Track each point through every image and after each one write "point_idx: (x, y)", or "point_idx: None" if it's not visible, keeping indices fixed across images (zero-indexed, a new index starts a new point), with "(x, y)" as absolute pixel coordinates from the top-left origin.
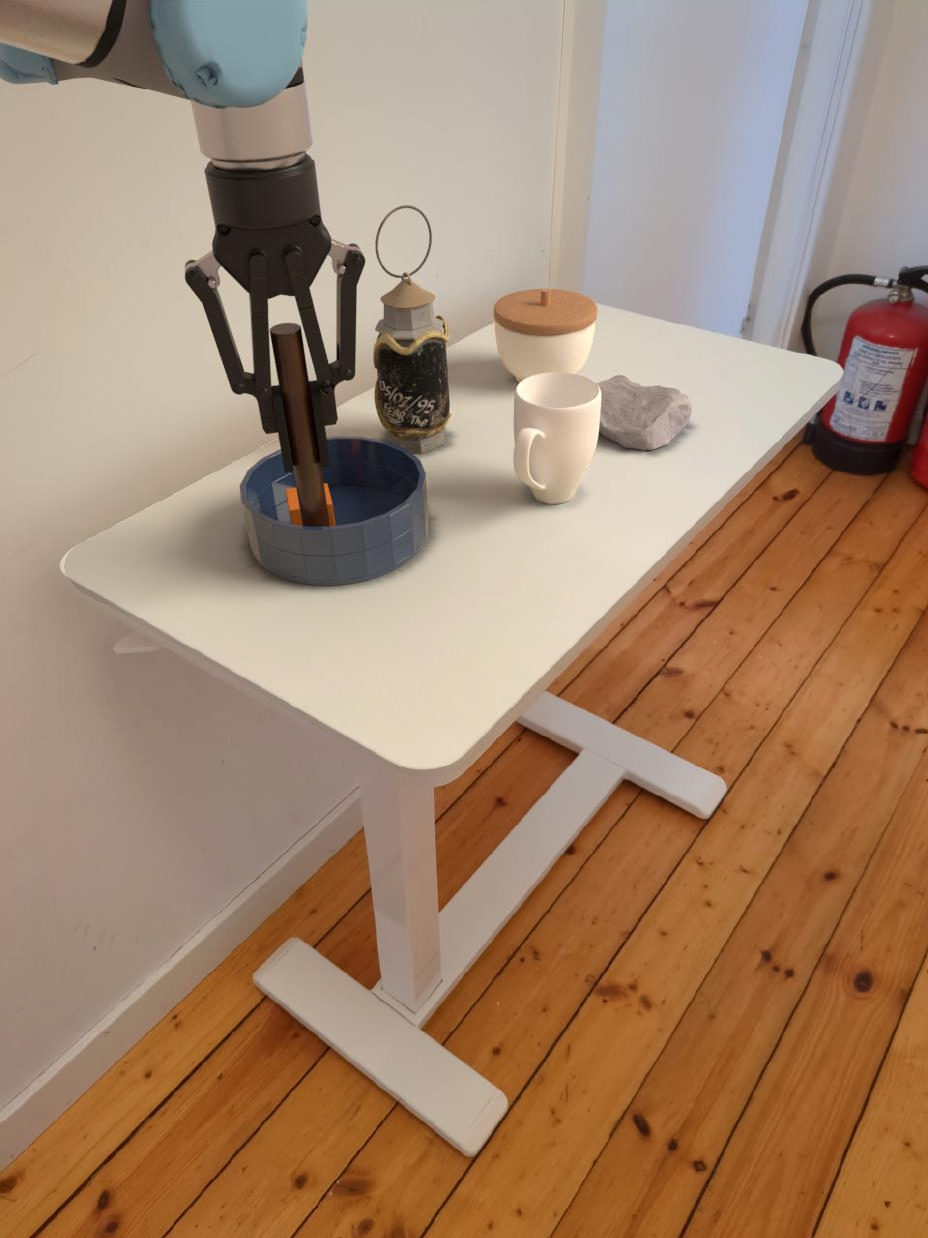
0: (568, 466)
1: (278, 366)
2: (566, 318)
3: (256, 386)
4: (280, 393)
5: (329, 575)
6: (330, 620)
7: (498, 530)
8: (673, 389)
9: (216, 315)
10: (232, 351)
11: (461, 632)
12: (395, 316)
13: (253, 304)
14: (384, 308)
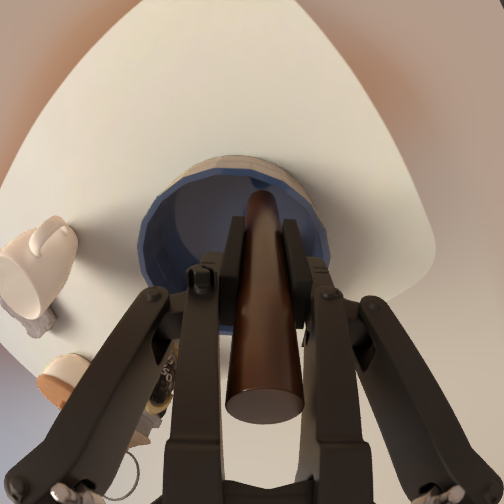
0: (35, 228)
1: (294, 334)
2: (48, 384)
3: (342, 303)
4: (292, 300)
5: (259, 160)
6: (269, 108)
7: (104, 200)
8: (2, 306)
9: (441, 427)
10: (398, 358)
11: (160, 65)
12: (138, 423)
13: (366, 463)
14: (148, 433)
